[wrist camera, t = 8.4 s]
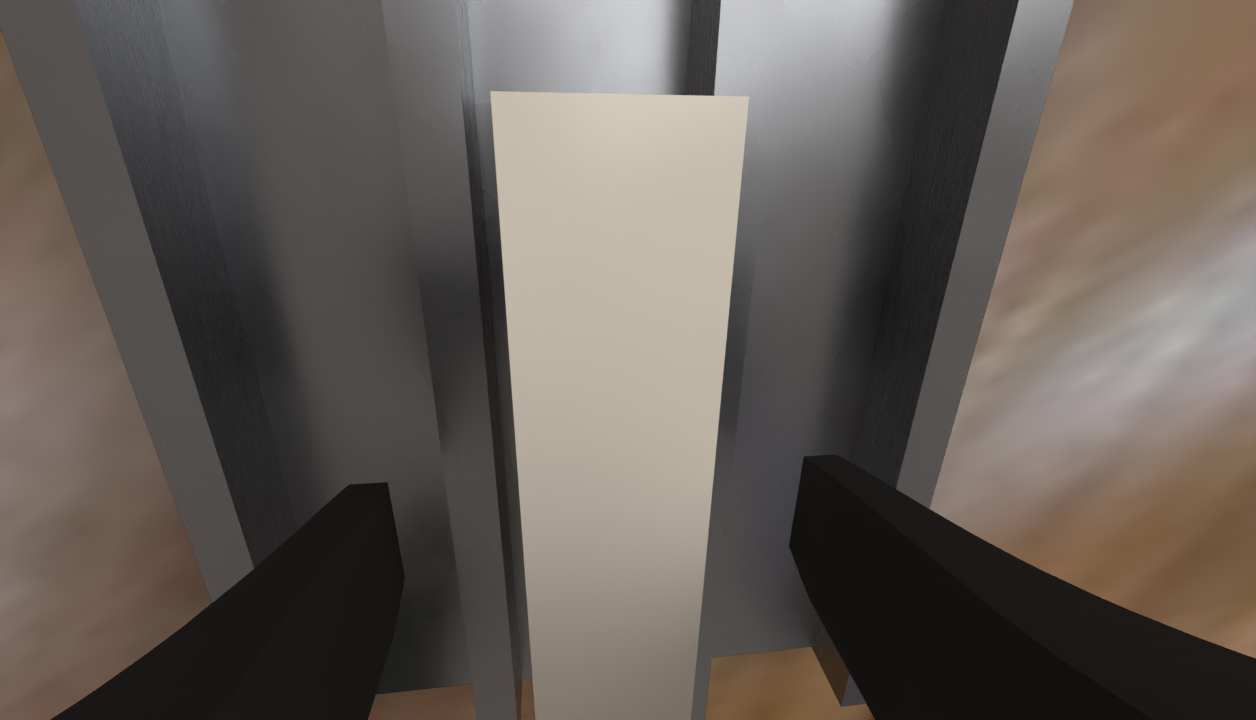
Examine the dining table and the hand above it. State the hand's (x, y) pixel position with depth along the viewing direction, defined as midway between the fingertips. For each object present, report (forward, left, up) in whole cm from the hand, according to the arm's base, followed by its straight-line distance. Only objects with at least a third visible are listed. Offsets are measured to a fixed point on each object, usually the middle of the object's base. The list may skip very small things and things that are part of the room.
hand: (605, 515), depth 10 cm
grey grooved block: (0, 0, -5) cm, 5 cm away
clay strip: (0, 0, -4) cm, 4 cm away
